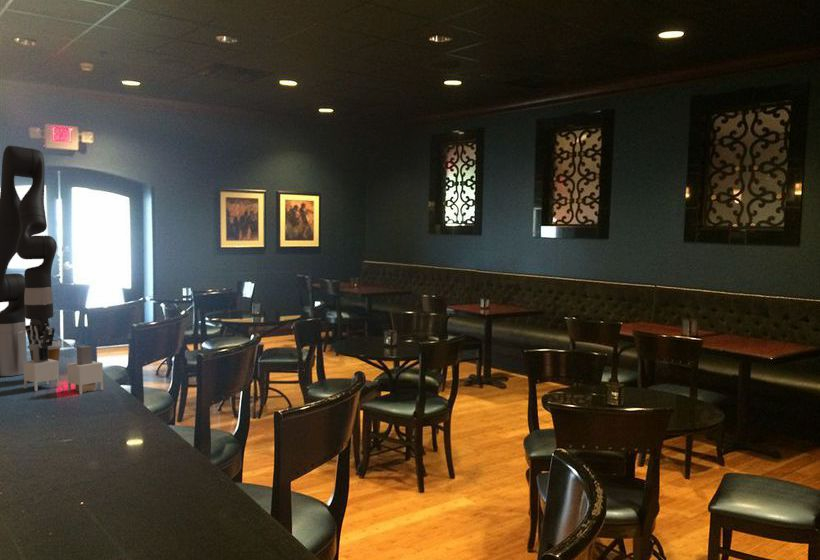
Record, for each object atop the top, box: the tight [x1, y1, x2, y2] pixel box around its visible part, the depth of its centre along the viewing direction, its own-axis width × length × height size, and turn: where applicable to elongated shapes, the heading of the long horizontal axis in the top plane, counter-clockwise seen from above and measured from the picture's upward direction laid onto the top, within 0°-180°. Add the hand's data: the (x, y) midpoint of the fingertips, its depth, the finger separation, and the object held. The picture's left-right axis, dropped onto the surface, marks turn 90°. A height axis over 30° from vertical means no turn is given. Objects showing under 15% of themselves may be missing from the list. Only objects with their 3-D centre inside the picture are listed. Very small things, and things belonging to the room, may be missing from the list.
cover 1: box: [23, 344, 60, 392], centre depth 207 cm, size 7×7×13 cm
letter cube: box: [74, 382, 97, 393], centre depth 204 cm, size 4×4×4 cm
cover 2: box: [66, 345, 104, 395], centre depth 204 cm, size 7×7×13 cm
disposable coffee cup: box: [27, 339, 62, 361], centre depth 220 cm, size 10×10×12 cm
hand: (41, 359), depth 207 cm, fingers closed on cover 1, 3 cm apart
